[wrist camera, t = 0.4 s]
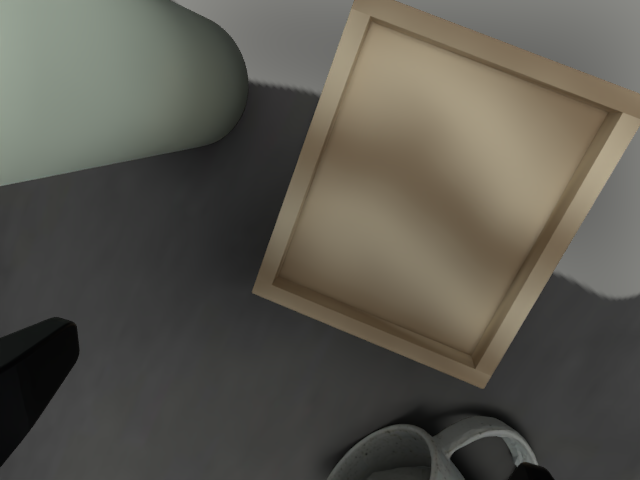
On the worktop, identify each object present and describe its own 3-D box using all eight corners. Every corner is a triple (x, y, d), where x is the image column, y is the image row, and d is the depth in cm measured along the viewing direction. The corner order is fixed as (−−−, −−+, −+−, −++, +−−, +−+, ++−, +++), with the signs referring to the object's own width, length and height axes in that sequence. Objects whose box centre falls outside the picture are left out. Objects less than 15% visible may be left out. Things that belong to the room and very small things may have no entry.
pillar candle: (227, 165, 22) (16, 237, 10) (117, 121, 22) (-225, 135, 10) (264, 40, 20) (62, -67, 8) (143, -7, 20) (-238, -183, 8)
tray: (476, 368, 23) (483, 389, 21) (261, 279, 23) (251, 292, 22) (630, 100, 19) (655, 99, 17) (362, -2, 19) (358, -13, 17)
